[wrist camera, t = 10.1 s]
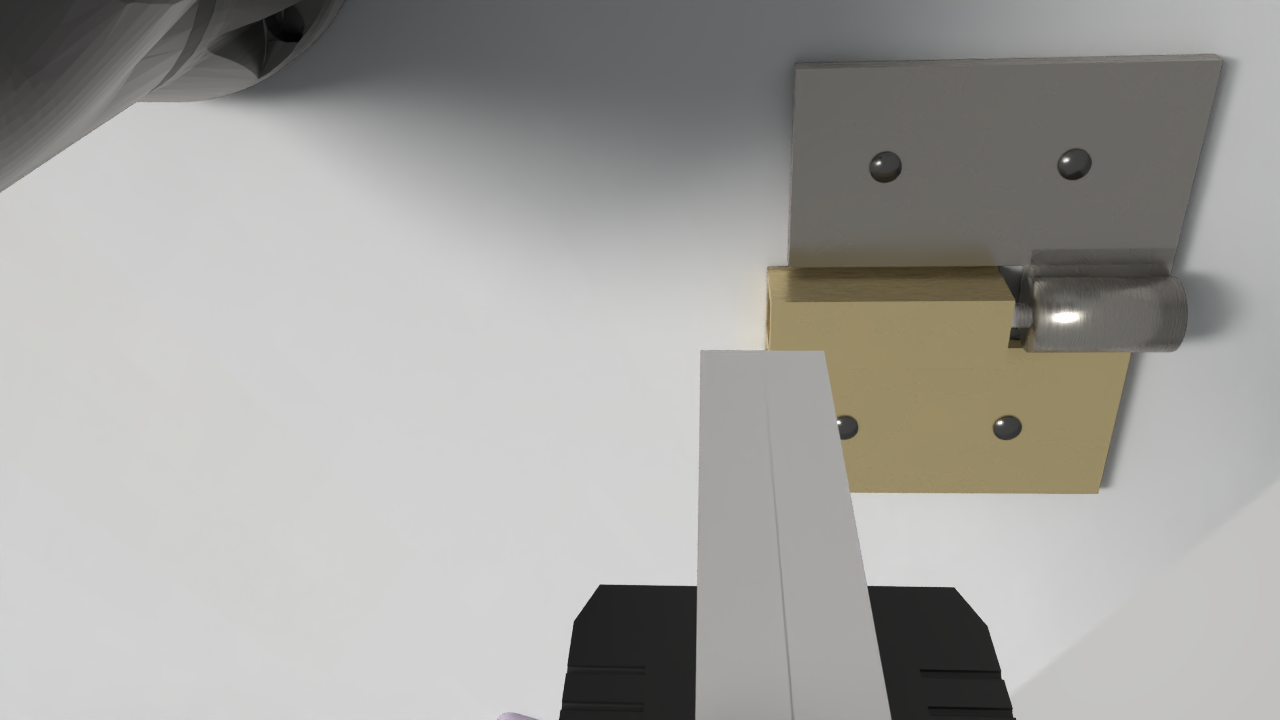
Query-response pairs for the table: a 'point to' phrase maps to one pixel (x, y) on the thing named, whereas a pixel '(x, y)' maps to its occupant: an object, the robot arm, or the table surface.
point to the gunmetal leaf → (1011, 182)
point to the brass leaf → (946, 381)
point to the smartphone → (514, 717)
